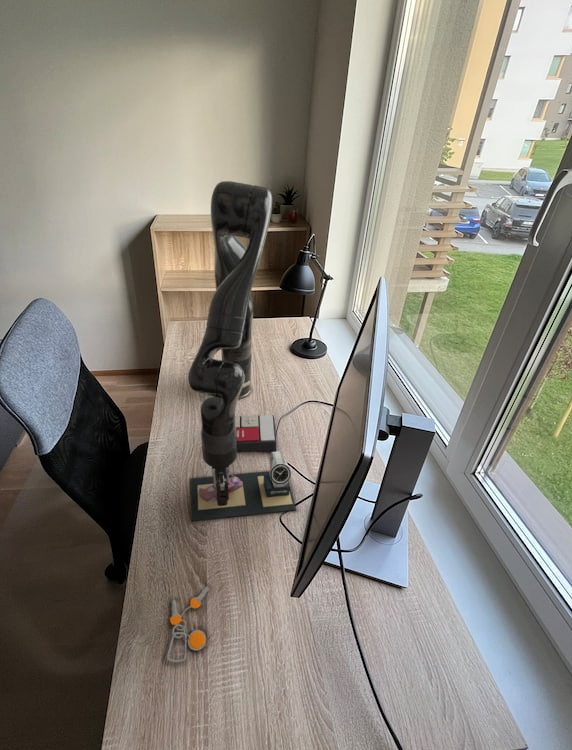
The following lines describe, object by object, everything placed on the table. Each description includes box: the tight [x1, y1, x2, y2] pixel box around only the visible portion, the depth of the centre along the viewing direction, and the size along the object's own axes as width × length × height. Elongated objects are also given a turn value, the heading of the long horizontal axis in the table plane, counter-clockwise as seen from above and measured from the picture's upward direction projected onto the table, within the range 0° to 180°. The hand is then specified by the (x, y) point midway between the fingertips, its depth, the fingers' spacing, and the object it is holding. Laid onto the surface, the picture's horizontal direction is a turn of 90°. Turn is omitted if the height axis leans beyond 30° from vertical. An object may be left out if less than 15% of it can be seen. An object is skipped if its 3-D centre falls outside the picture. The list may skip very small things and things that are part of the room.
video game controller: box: [199, 474, 243, 502], centre depth 94 cm, size 10×5×7 cm, turn 117°
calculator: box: [235, 414, 277, 452], centre depth 111 cm, size 11×4×15 cm
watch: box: [263, 450, 293, 497], centre depth 94 cm, size 6×8×11 cm
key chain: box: [166, 586, 210, 664], centre depth 73 cm, size 13×7×1 cm, turn 178°
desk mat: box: [190, 470, 297, 522], centre depth 96 cm, size 12×24×1 cm, turn 97°
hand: (221, 490), depth 95 cm, fingers closed on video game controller, 7 cm apart
